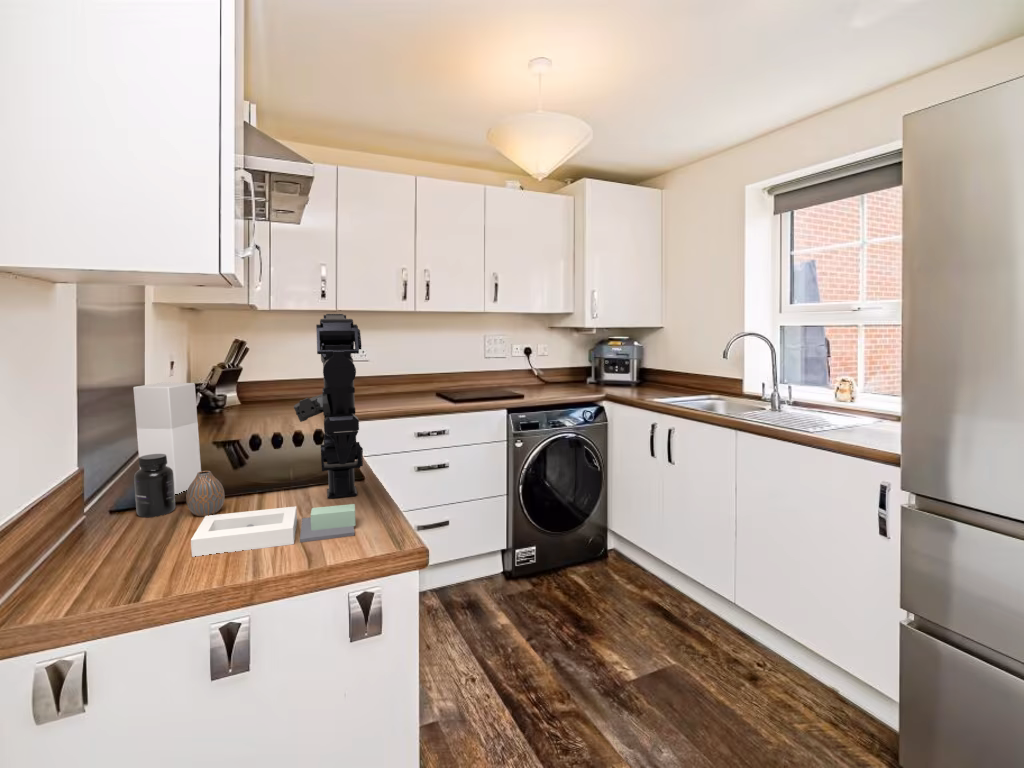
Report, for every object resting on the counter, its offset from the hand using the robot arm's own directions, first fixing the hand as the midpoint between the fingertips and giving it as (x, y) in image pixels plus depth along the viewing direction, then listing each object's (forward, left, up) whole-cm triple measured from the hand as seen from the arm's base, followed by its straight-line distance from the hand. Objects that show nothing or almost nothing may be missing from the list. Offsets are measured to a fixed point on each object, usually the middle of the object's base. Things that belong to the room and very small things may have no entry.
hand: (341, 458), depth 109 cm
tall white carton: (-32, -38, -12) cm, 51 cm away
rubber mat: (+6, -3, -12) cm, 14 cm away
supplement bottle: (-15, -37, -12) cm, 42 cm away
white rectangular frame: (+6, -17, -12) cm, 22 cm away
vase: (-11, -27, -12) cm, 32 cm away
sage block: (+6, -2, -11) cm, 13 cm away
